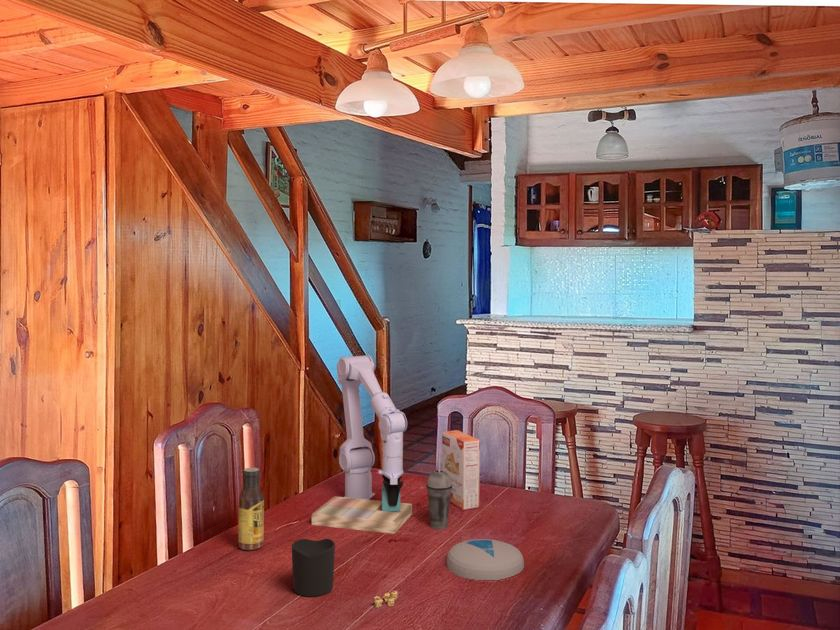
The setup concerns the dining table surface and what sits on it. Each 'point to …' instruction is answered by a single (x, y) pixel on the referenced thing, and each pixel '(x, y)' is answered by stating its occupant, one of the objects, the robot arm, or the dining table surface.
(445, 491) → the beverage cup
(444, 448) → the cracker box
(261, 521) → the sauce bottle
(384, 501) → the teal block
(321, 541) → the pen holder
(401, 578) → the dining table surface
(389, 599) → the popcorn pieces
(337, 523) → the puzzle board
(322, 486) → the dining table surface
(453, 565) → the grey thick round disc
